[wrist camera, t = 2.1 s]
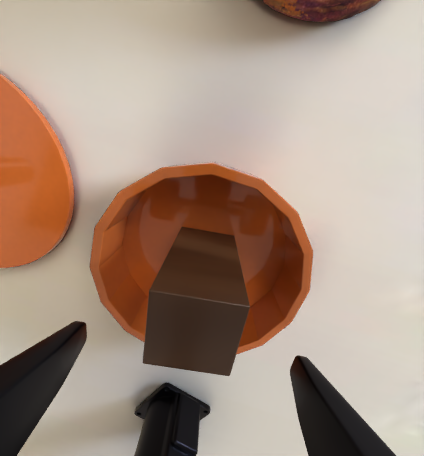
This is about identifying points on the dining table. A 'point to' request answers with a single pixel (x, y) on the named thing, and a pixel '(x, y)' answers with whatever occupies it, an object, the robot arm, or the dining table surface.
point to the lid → (30, 181)
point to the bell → (320, 8)
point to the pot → (209, 221)
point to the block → (197, 305)
